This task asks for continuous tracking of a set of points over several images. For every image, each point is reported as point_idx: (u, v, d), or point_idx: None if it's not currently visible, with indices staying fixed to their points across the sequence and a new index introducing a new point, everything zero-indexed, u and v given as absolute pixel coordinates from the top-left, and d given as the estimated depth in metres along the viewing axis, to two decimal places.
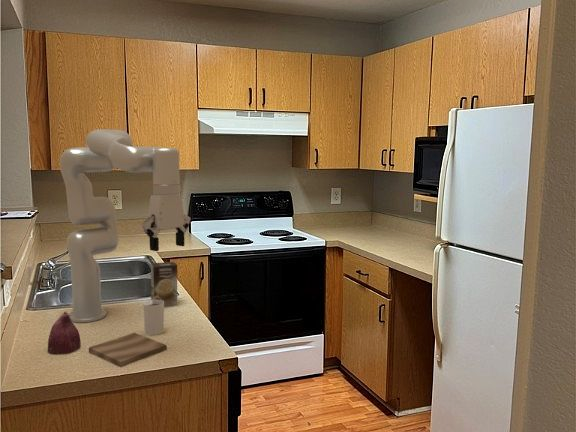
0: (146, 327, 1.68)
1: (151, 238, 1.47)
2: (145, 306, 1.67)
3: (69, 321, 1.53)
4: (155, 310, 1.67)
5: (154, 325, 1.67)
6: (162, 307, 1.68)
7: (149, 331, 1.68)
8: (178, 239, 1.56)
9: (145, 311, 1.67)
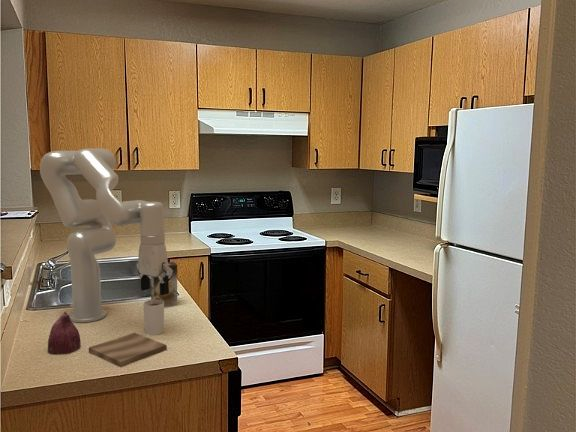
0: (146, 327, 1.68)
1: (166, 283, 1.64)
2: (145, 306, 1.67)
3: (69, 321, 1.53)
4: (155, 310, 1.67)
5: (154, 325, 1.67)
6: (162, 307, 1.68)
7: (149, 331, 1.68)
8: (145, 284, 1.71)
9: (145, 311, 1.67)
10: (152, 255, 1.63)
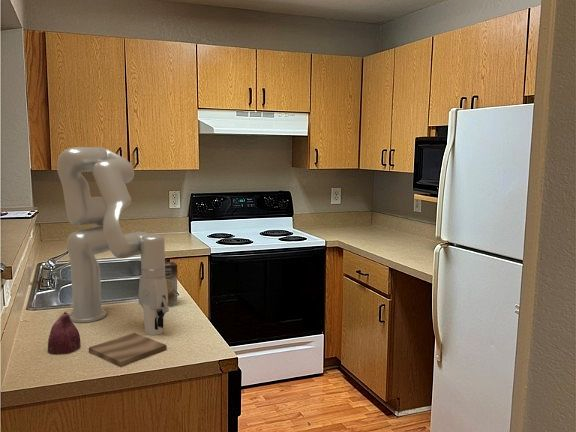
0: (146, 327, 1.68)
1: (160, 318, 1.68)
2: (145, 306, 1.67)
3: (69, 321, 1.53)
4: (155, 310, 1.67)
5: (154, 325, 1.67)
6: None
7: (149, 331, 1.68)
8: None
9: (145, 311, 1.67)
10: (152, 288, 1.64)
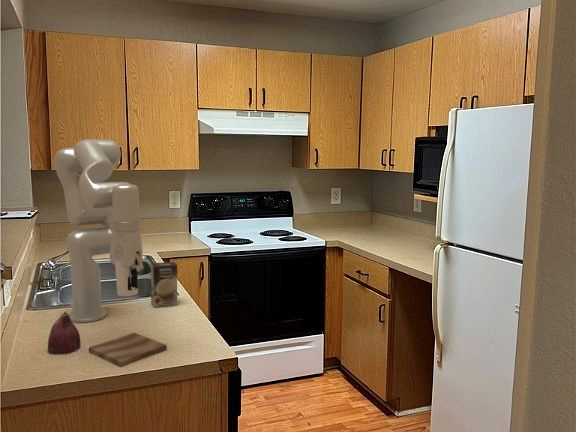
0: (118, 287, 1.51)
1: (134, 277, 1.50)
2: (117, 264, 1.49)
3: (69, 321, 1.53)
4: (128, 268, 1.49)
5: (127, 285, 1.50)
6: None
7: (121, 292, 1.50)
8: None
9: (117, 269, 1.50)
10: (125, 243, 1.47)
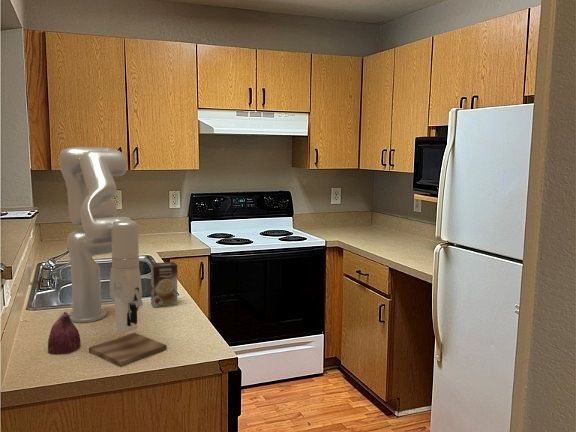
0: (117, 323, 1.51)
1: (134, 313, 1.51)
2: (116, 299, 1.50)
3: (69, 321, 1.53)
4: (127, 304, 1.50)
5: (126, 321, 1.50)
6: None
7: (121, 327, 1.51)
8: None
9: (116, 305, 1.50)
10: (124, 280, 1.48)
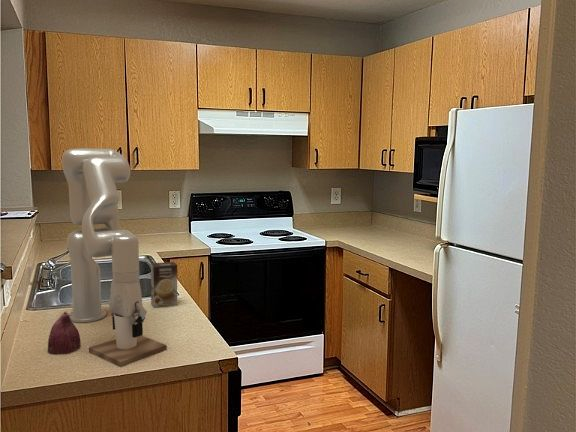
0: (117, 340, 1.52)
1: (139, 324, 1.50)
2: (116, 317, 1.51)
3: (69, 321, 1.53)
4: (127, 322, 1.51)
5: (126, 338, 1.52)
6: None
7: (121, 345, 1.52)
8: None
9: (116, 323, 1.51)
10: (124, 294, 1.48)
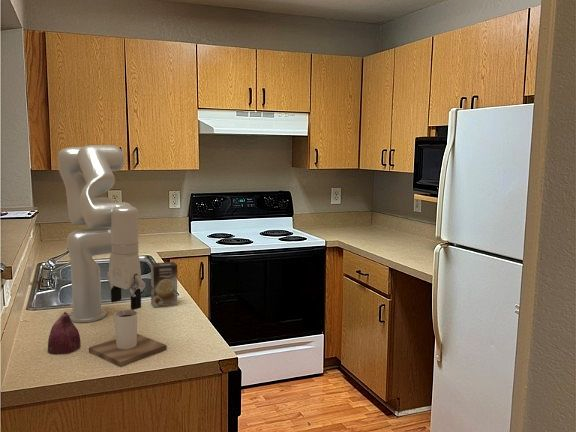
0: (117, 340, 1.52)
1: (138, 297, 1.49)
2: (116, 317, 1.51)
3: (69, 321, 1.53)
4: (127, 322, 1.51)
5: (126, 338, 1.52)
6: (135, 318, 1.53)
7: (121, 345, 1.52)
8: (116, 295, 1.55)
9: (116, 323, 1.51)
10: (123, 266, 1.47)
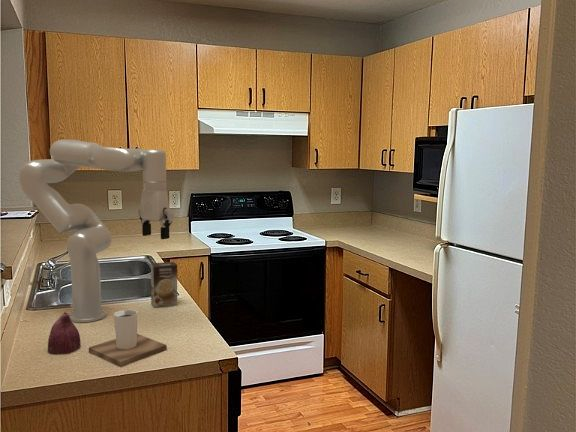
0: (117, 340, 1.52)
1: (167, 228, 1.71)
2: (116, 317, 1.51)
3: (69, 321, 1.53)
4: (127, 322, 1.51)
5: (126, 338, 1.52)
6: (135, 318, 1.53)
7: (121, 345, 1.52)
8: (146, 230, 1.77)
9: (116, 323, 1.51)
10: (154, 200, 1.69)
